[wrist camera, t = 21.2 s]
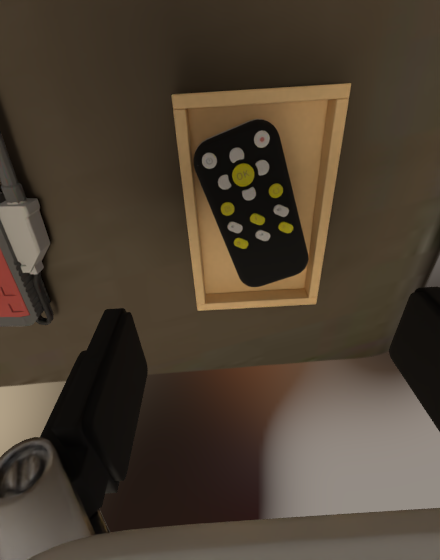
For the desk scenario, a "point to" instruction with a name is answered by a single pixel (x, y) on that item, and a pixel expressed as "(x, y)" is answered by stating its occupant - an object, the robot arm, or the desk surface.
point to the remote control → (253, 201)
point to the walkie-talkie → (20, 252)
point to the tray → (302, 171)
